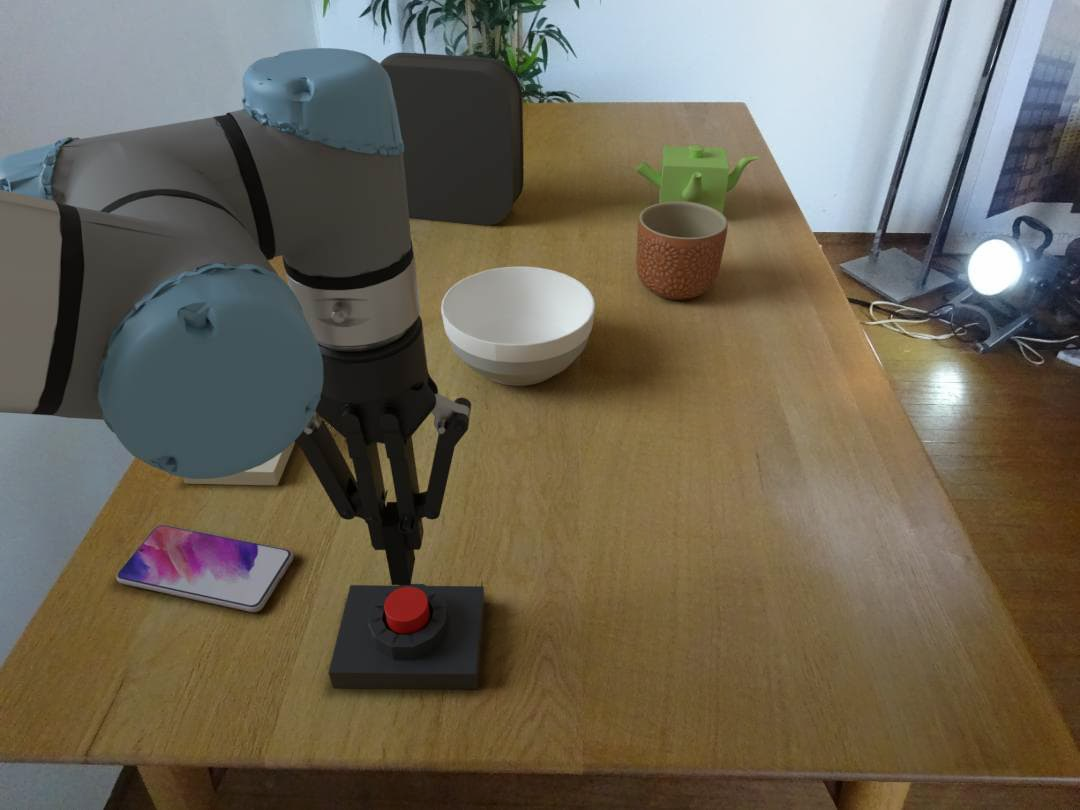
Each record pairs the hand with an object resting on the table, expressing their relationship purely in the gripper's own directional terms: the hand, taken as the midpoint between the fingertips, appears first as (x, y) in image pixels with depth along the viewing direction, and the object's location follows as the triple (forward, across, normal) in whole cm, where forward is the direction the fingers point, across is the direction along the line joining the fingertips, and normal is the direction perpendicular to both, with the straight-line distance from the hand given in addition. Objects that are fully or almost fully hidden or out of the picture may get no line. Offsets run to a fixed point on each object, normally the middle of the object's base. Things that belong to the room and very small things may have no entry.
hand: (403, 571), depth 65 cm
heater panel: (+9, -22, +26) cm, 36 cm away
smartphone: (+9, -21, +8) cm, 24 cm away
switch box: (+9, 0, 0) cm, 9 cm away
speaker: (+10, -6, +89) cm, 89 cm away
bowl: (+10, +8, +43) cm, 45 cm away
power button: (+6, 0, 0) cm, 6 cm away
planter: (+10, +30, +62) cm, 70 cm away
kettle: (+10, +36, +89) cm, 96 cm away
